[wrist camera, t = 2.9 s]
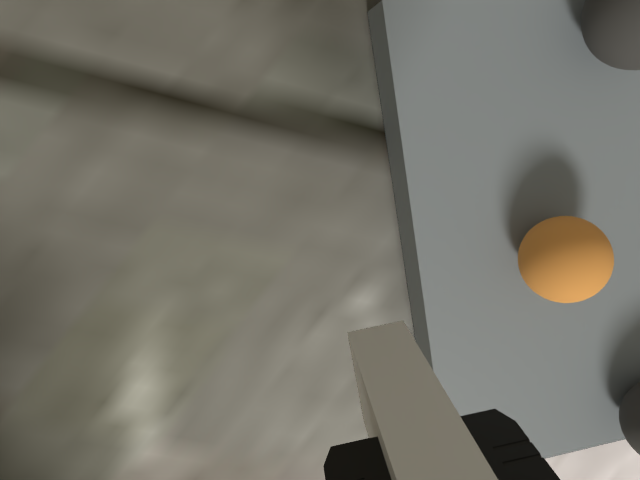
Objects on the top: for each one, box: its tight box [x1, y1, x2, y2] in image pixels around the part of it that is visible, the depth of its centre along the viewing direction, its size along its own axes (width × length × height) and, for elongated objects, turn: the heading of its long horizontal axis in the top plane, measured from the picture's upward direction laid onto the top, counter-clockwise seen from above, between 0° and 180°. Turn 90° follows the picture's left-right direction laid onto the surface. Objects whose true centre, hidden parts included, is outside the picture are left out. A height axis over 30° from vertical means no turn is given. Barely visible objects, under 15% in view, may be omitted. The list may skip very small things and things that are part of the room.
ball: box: [518, 216, 614, 303], centre depth 19 cm, size 3×3×3 cm
